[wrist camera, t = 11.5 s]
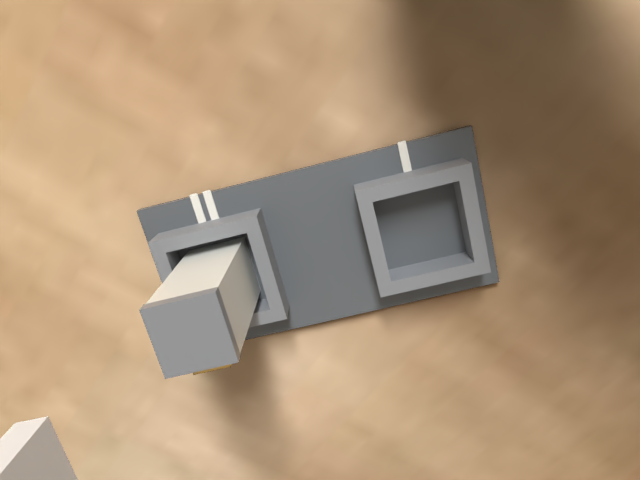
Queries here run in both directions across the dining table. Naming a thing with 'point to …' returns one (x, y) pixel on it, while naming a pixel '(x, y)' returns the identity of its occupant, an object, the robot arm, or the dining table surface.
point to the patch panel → (344, 231)
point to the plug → (203, 309)
